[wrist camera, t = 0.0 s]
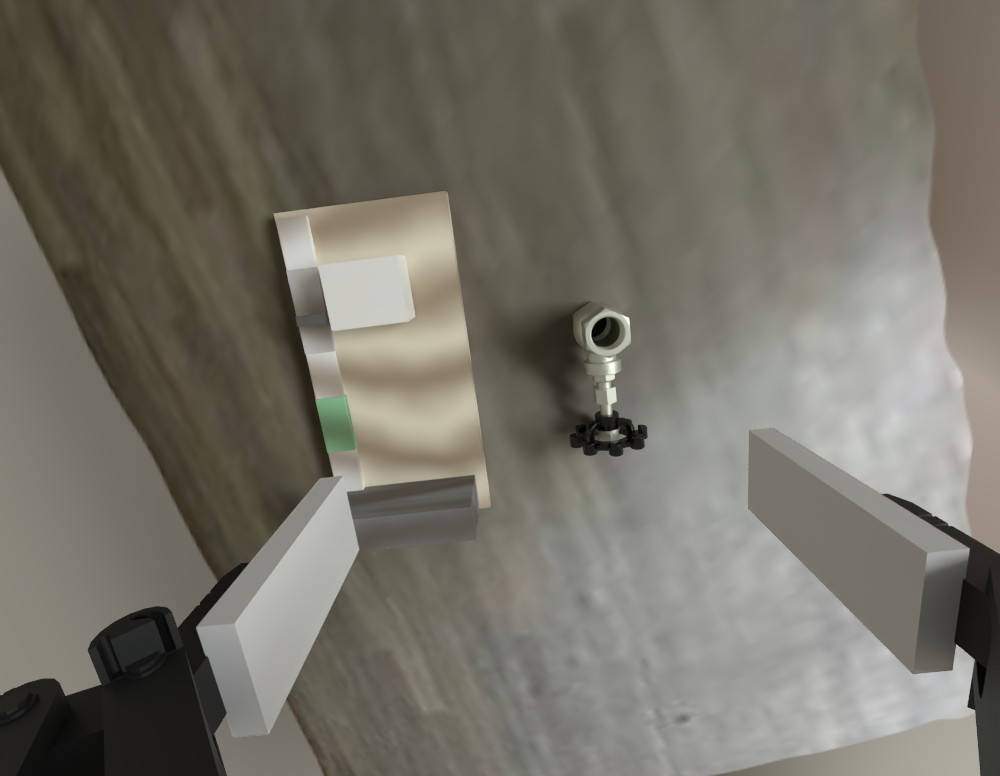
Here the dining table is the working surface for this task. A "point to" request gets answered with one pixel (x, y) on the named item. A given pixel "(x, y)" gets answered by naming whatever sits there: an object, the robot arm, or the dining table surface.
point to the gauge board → (393, 374)
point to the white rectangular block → (364, 294)
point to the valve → (604, 380)
